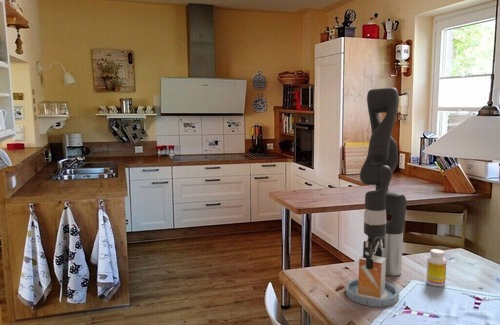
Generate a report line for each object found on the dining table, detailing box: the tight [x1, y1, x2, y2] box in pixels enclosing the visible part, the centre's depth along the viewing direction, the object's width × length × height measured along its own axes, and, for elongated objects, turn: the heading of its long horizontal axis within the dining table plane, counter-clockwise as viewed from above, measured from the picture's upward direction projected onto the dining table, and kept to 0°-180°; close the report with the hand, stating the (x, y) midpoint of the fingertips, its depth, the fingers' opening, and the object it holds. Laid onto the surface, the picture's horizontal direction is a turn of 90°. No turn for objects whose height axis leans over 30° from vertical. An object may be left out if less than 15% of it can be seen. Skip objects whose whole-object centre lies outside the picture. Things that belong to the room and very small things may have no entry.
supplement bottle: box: [425, 248, 447, 287], centre depth 156 cm, size 7×7×13 cm
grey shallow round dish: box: [345, 278, 400, 308], centre depth 147 cm, size 18×18×2 cm
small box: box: [357, 255, 386, 298], centre depth 146 cm, size 8×6×13 cm
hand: (374, 264), depth 146 cm, fingers open, 8 cm apart
